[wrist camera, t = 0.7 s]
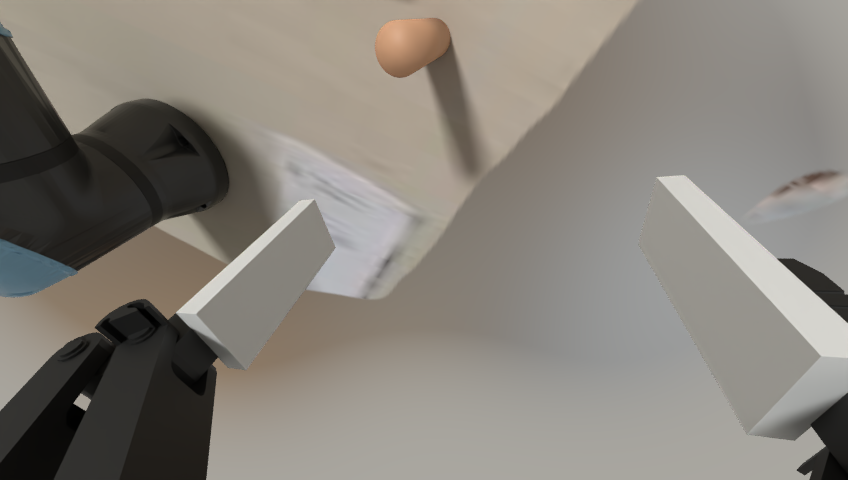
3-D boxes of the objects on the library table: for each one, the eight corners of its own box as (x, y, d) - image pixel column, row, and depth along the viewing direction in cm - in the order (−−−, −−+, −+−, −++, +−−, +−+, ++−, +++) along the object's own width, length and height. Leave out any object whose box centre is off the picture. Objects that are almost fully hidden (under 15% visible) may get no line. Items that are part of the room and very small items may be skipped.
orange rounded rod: (414, 53, 28) (372, 69, 19) (421, 13, 26) (378, 13, 18) (445, 62, 28) (416, 83, 19) (454, 23, 26) (426, 28, 17)
